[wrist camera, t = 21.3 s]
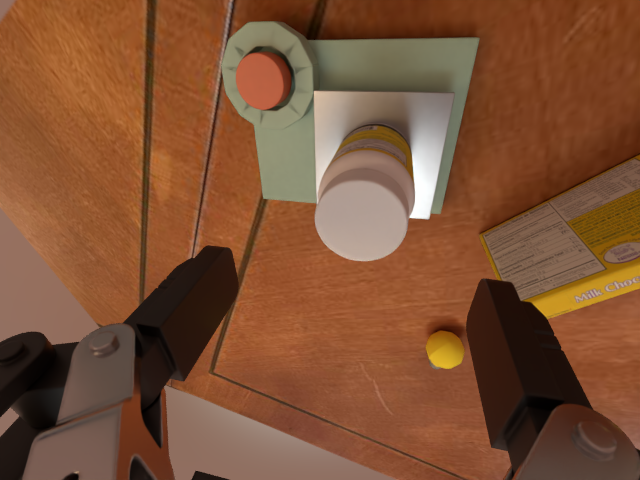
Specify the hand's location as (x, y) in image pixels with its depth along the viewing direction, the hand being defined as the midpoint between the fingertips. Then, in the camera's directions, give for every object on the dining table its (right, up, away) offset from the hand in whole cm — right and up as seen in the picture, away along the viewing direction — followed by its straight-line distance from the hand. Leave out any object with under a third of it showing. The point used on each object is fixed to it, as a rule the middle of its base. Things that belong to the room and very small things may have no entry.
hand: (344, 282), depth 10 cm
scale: (+1, +9, +12) cm, 16 cm away
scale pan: (+3, +7, +10) cm, 12 cm away
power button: (-4, +11, +9) cm, 15 cm away
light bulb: (+12, -9, +22) cm, 27 cm away
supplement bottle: (+3, +7, +10) cm, 12 cm away
